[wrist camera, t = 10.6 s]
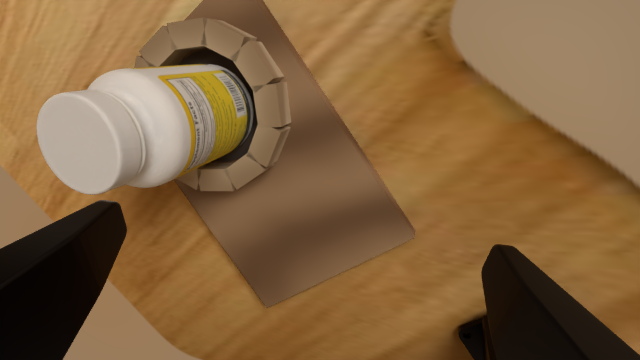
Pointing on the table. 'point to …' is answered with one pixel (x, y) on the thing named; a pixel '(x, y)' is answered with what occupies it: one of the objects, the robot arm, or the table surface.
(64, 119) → the supplement bottle
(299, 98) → the board
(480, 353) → the robot arm
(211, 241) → the table surface
